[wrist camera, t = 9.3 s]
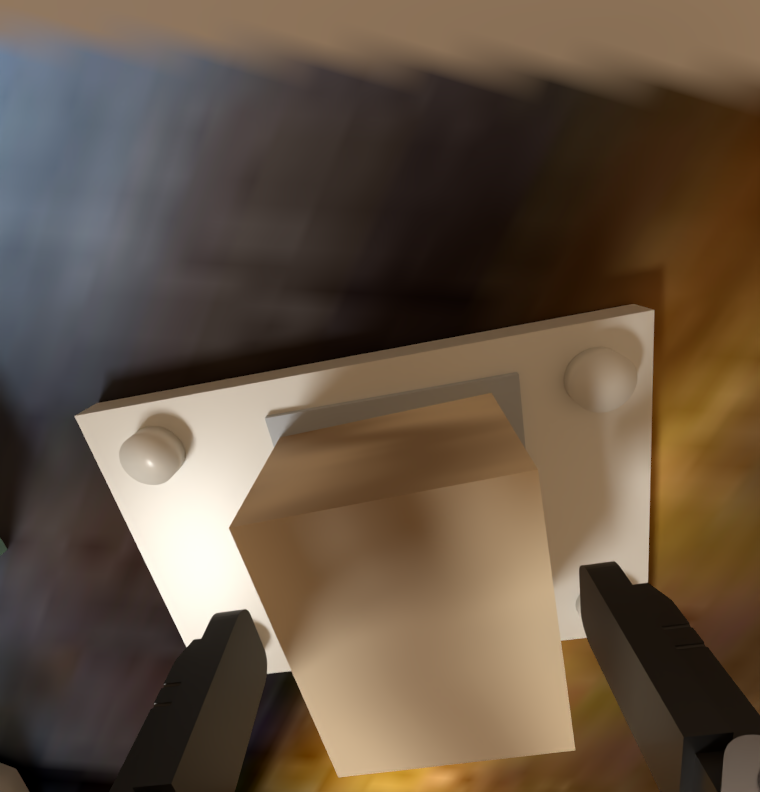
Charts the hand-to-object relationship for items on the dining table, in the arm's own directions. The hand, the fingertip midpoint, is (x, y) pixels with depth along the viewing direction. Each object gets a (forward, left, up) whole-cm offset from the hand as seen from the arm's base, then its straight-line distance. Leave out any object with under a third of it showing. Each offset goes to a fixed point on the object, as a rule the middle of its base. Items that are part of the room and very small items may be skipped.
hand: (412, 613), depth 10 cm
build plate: (-1, 0, -4) cm, 4 cm away
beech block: (0, 0, -3) cm, 3 cm away
